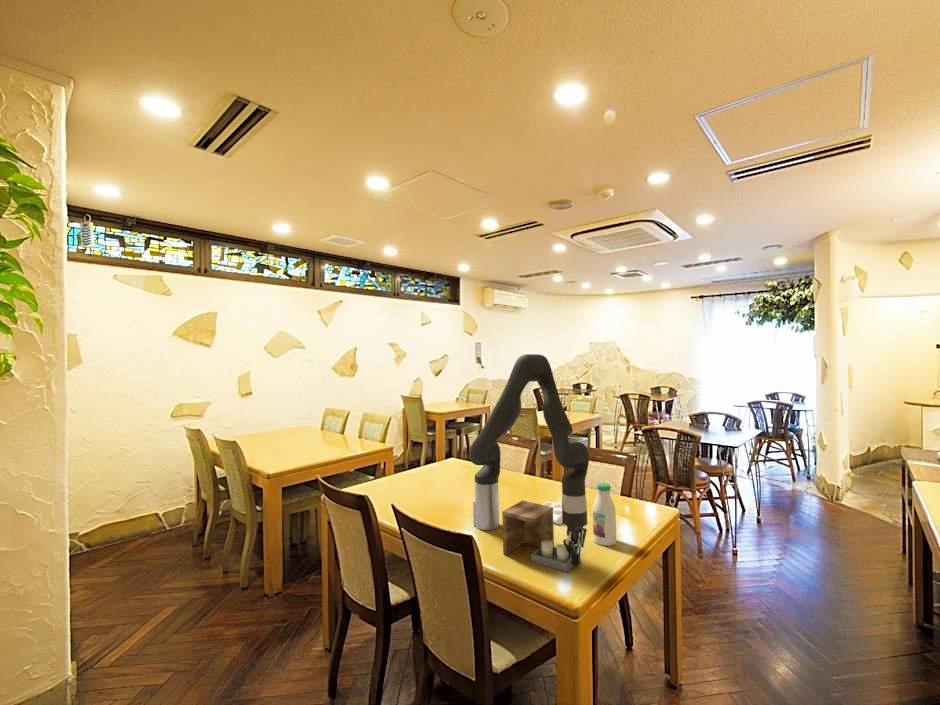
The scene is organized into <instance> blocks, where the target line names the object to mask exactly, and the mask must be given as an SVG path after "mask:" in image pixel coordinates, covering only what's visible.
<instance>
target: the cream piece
mask: <svg viewBox="0 0 940 705" xmlns="http://www.w3.org/2000/svg"><path fill="white" fill-rule="evenodd" d="M556 548H557V561H559V562H563V563H566V562H567V561H568V560H569V558H568V551H567V549H566V547H565V545H564V543H558V544H557V545H556Z"/></svg>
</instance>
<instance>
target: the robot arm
mask: <svg viewBox="0 0 940 705" xmlns="http://www.w3.org/2000/svg"><path fill="white" fill-rule="evenodd" d="M513 365H514V366H513V368H512V369H511V372H510V375H509V378H508V380H507V382H506V385H505V387H504V388H503V391H502V392H501V395H500V397H499V398H498V400H497V402H496V404H495V406H494V407H493V409H492V411H491V413H490V415H489V417H488V419H487V420H486V422H485V424H484V426H483V428H482V429H481V430H480V432H479V433H478V435H477V437H476V438H475V439H474V441H473V442H472V444H471V446H470V447H469V448H470V449H469V460H470V461H471V463H472V464H473V465H475V466H482V467H481V468H480V469H479V470H478V471H477V472H476V473H475V474H474V500H473V501H472V511H473V513H472V516H473V526H475V527H476V528H477V529H479V530H483V531H492V530H493V531H494V530H496V529H498V528H499V527H500V501H499V500H500V495H499V493H500V492H499V489H500V488H499V478H500V473H501V448H500V445H499V443H498V442H497V440H499V439H500V438H501V437H502V436H503V435H505V434H506V433H507V432H508V431H509V430H511V428H512V427H513V426H514V425H515V423H516V421H517V419H518V418H519V416H520V414H521V412H522V399H521V398H522V397H521V396H522V393H523V391H524V390H525V388H526V386H527V385H528V384H529V383H530V382H537V384H538V385H539V388H540V390H541V392H542V398H543V399H542V400H543V401H542V402H543V403H542V414H543V418H544V421H545V423H546V425H547V426H546V427H547V428H548V430H549V432H550V434H551V441H552V446H553V452H554V457H555V459H556V461H557V462H558V464H559V465H560V466H562V467H563V468H566V469H568V470H567V472H565V473H564V474H563V475H562V477H561V491H562V492H561V504H562V521H563V523H562V524H564V525H565V526H566V536H567V537H566V539H565V538H564V539H563V541H562V542H563V543H562V544H564V545H565V547H566V549H567V551H568V552H569V553H572V564H573V565H574V566H575V567H576V566H577V567H578V566H580V565H581V563H582V562H581V552H582V549H583V548H584V546H585V541H586V535H587V532H588V531H587V530H588V529H587V527H586V526H587V524H588V503H587V494H586V477H587V474H588V468H589V463H590V452H589V450H588V448H587V446H586V445H585V443H583V442H582V441H577V442H576V441H574V442H571V443H570V441H569V436H571V435H572V434H573V431H574V429H573V426H572V424H571V422H570V420H569V418H568V415H567V413H566V411H565V408H564V407H563V404H562V400H561V398H560V394H559V391H558V387H557V384H556V381H555V377H554V375H553V369H552V367H551V364H550V362H549V359H548V358H547V357H546V356H544V355H542V354H539V353H538V354H536V353H535V354H532V353H530V354H522V355H520V356H518V357H517V359H516V361H515V363H514V364H513Z"/></svg>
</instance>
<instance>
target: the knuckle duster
mask: <svg viewBox="0 0 940 705" xmlns="http://www.w3.org/2000/svg"><path fill="white" fill-rule="evenodd" d="M541 505H545V506H550V507H553V524H556V525H561V524H564V523H563V521H562V503H556V502H553V501H545V502H543V503H542V504H541Z"/></svg>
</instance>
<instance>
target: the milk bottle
mask: <svg viewBox="0 0 940 705" xmlns="http://www.w3.org/2000/svg"><path fill="white" fill-rule="evenodd" d="M596 491H597V494H596V497H595V499H594V502H593V506H592V531H593V532H592V536H593V541H594V543H596V544H598V545H600V546H604V547H611V546H614V545H616V543H617V517H616V516H617V515H616V512H617V511H616V506H615V503H614V501H613V499H612V496H611V484H609V483H606V482H605V483H604V482H598V483H597V484H596Z"/></svg>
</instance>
